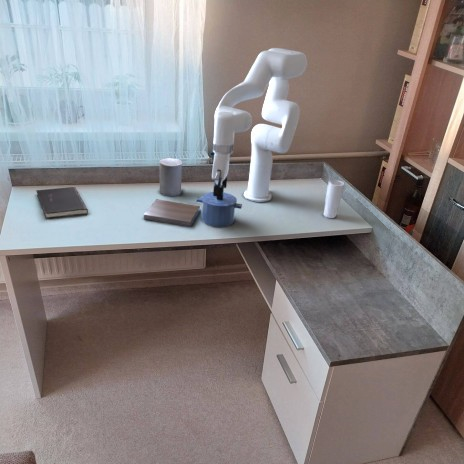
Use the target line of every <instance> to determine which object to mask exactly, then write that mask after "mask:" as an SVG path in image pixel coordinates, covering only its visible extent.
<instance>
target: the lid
mask: <svg viewBox="0 0 464 464" xmlns="http://www.w3.org/2000/svg"><path fill="white" fill-rule="evenodd" d="M221 187H222V196H221V197H217V196H213V191H210V192H207V193H204V194H203V195H202V196H201V198H202V201H203V202H204V203H206V204H207V205H210V206H214V207H230V206H233V205H235V204H236V203H238V199H237V197H236V196H235V195H233V194H231V193H227V192H224V191H225V188H224V185H222V186H221Z"/></svg>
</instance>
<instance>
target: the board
mask: <svg viewBox="0 0 464 464" xmlns="http://www.w3.org/2000/svg"><path fill="white" fill-rule="evenodd" d="M200 212H201V206H200V205H196V204H190V203H183V202H177V201H171V200H163V199H160V198H159V199H158V198H156V199H155V200H154V202H152V204H151V205H150V206H149V207H148V209H146V211H145V212H144V213H143V220H148V221H154V222H160V223H167V224H172V225H178V226H185V227H191V226H192V224H193V223H194V222H195V221H196V220H195V219H196V218H197V216H198V215H199V213H200Z"/></svg>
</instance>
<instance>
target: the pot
mask: <svg viewBox="0 0 464 464" xmlns="http://www.w3.org/2000/svg"><path fill="white" fill-rule="evenodd" d="M195 202H196V203H202V209H201V211H202V212H201V219H202V222H203V223H204V224H206V225H208V226H210V227H211V226H212V227H217V228H223V227H224V228H225V227H229V226H231V225H233V223H234V221H235V213H236V209H242V207H243V204H242V203H238V202H236V204H235V205H233V206H230V207H214V206H210V205H207V204H206V203H204V202H203V201H202V197H200V196H199V197H197V198H196V201H195Z"/></svg>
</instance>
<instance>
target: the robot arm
mask: <svg viewBox="0 0 464 464" xmlns="http://www.w3.org/2000/svg"><path fill="white" fill-rule="evenodd" d="M307 67H308V57H307V56H306V54H305V53H303V52H302V51H297V50H292V49H291V50H290V49H287V48H280V47H271V48H269V49H268V50H262V51H261V52H260V53H259V54H258V55H257V57H256V58H255V61H254V62H253V64H252V66H251V68H250V70H249V71H248V73H247V75H246V77H245V79H244V80H243V81H242V82H240V83H238V84H237V85H235V86H233V87H232V88H231V89H229V90H228V91H227V92H226V93H225V94H224V95H223V96H222V98H221V100H220V101H219V103H218V105H217V107H216V109H215V112H214V125H213V127H214V128H213V143H212V152H213V153H214V154H213V155H214V156H213V161H212V172H211V179H212V180H214V183H213V191H212V192H213V196H217V197H221V196H222V187H221V186H222V185H224V189H226V188H227V185H228V175H229V171H230V159H231V155H232V154H233V153H234V146H235V145H234V143H235V134H236V133H244V132H247V131H248V130H249V129H250V128H251V127H252V125H253V117H252V114H251V113H249V111H247V110H243V109H239V108H236V107H235V106H236V105H238V104H239V103H242V102H244V101H250V100H255V99H257V98H260V97H262V96H263V95H264V94H265V91H266V90H267V91H266V95H265V98H264V102H263V105H262V110H261V117H262V119H263V120H265V121H266V122H269V123H273V124H277V125H279V126H280V125H281V126H282V127H278V126H276V125H270V124H266V123H258V124H256V125H255V126H254V127H253V128H252V130H251V133H250V142H251V154H250V166H249V176H248V184H247V189H246V190H245V191H244V192H243V197H244V198H245V199H246V200H248V201H252V202H258V203H265V202H268V201H270V200H271V199H272V193H271V192H270V185H271V178H272V170H273V169H272V168H273V162H274V157H273V153H272V152H274V153H279V154H286V153H287V152H288V151H289V150H290V148H291V146H292V143H293V139H294V136H295V134H296V130H297V126H298V123H299V120H300V115H301V114H300V113H301V108H300V105H299V104H298V103H297V102H295V101H291V100H288V95H289V92H290V81H289V80H290V79H295V78H299V77H301V76H302V75H303V74H304V73H305V72H306V70H307Z"/></svg>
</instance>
